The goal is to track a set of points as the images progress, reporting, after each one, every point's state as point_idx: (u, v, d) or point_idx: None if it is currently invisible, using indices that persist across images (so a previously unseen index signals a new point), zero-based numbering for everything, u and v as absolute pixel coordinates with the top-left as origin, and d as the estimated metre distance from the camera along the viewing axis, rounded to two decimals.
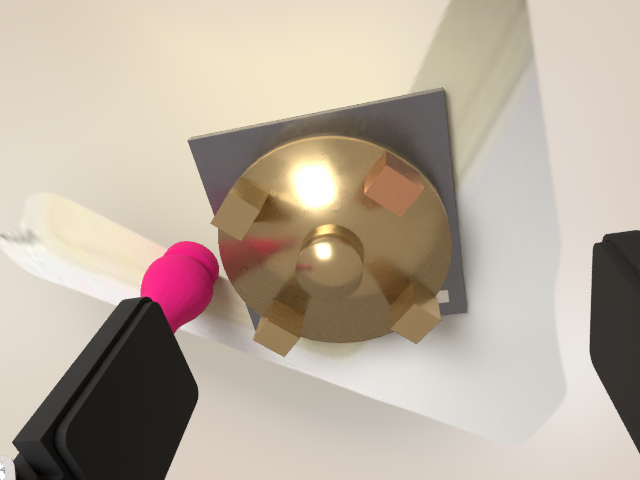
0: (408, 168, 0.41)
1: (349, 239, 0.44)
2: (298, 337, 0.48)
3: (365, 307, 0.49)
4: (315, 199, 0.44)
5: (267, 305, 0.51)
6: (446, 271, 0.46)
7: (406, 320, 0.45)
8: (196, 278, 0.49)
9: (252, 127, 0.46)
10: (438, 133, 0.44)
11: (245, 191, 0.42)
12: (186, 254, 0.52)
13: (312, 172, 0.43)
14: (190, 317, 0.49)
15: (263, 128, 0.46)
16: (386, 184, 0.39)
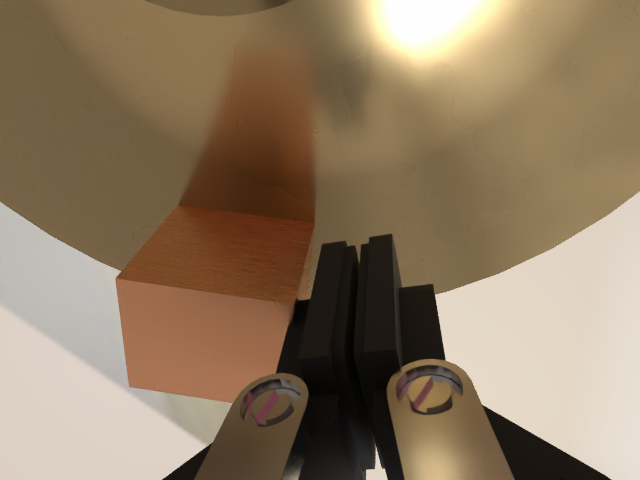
0: None
1: None
2: None
3: None
4: (447, 61, 0.10)
5: None
6: None
7: None
8: None
9: None
10: None
11: None
12: None
13: (496, 163, 0.11)
14: None
15: None
16: (244, 361, 0.11)
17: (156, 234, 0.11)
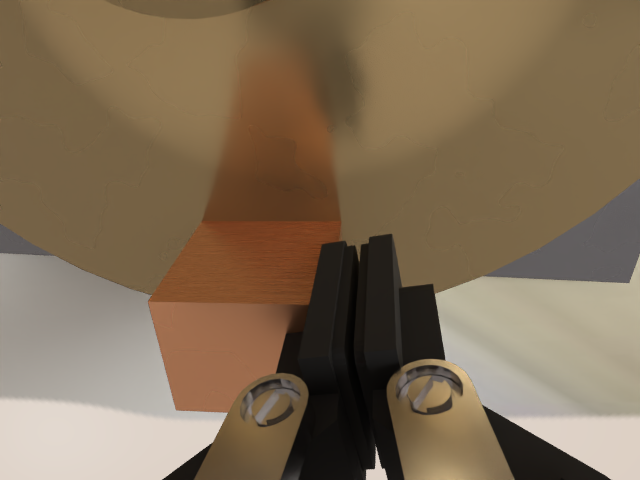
0: None
1: None
2: None
3: None
4: (456, 33, 0.10)
5: None
6: None
7: None
8: None
9: None
10: (524, 257, 0.17)
11: None
12: None
13: (522, 132, 0.11)
14: None
15: None
16: None
17: (183, 253, 0.11)
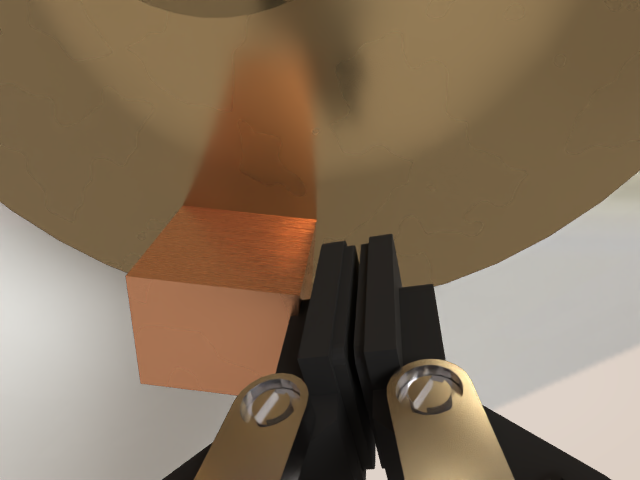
0: None
1: None
2: None
3: None
4: (439, 58, 0.11)
5: None
6: None
7: None
8: None
9: None
10: None
11: None
12: None
13: (491, 154, 0.12)
14: None
15: None
16: (251, 353, 0.11)
17: (163, 234, 0.12)
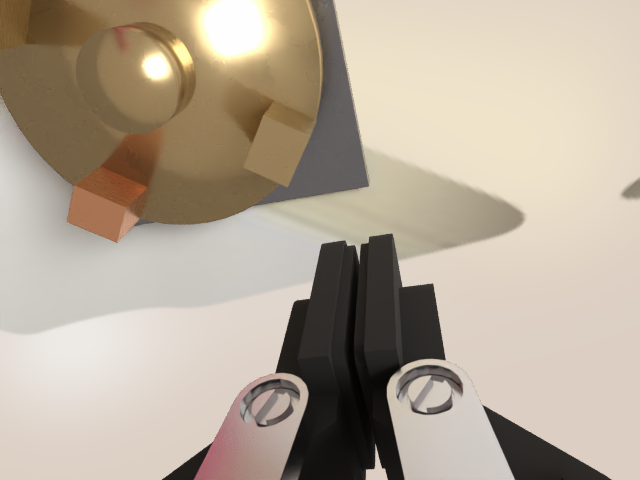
0: None
1: None
2: None
3: None
4: (195, 150, 0.34)
5: None
6: None
7: None
8: None
9: None
10: (320, 184, 0.39)
11: None
12: None
13: (208, 184, 0.35)
14: None
15: None
16: (107, 221, 0.34)
17: (89, 175, 0.34)
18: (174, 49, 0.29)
